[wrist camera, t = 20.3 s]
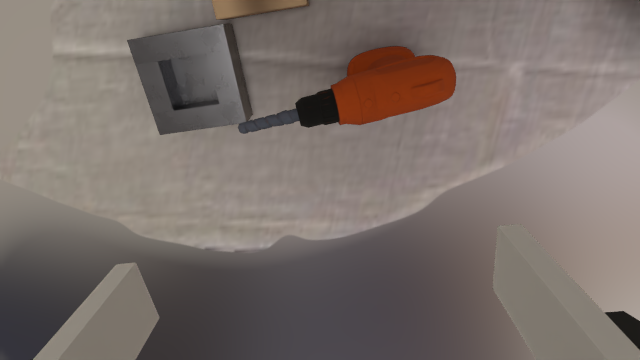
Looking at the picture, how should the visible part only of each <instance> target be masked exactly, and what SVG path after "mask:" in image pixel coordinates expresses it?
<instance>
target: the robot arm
mask: <svg viewBox="0 0 640 360" xmlns="http://www.w3.org/2000/svg"><path fill="white" fill-rule="evenodd" d="M496 242H497V243H496V254H495V266H494V279H493V290H494V291H495V293H496V295H497V296H498V298H499V300H500V301H501V303H502V305H503V306H504V308H505V309H506V311H507V313H508V314H509V316H510V318H511V319H512V321H513V323H514V324H515V326H516V328H517V329H518V331H519V333H520V334H521V336H522V338H523V339H524V341H525V342H526V344H527V346H528V347H529V349H530V351H531V352H532V354H533V355H534V357H535V359H536V360H640V321H639V320H637V319H635V318H634V317H632V316H631V315H629V314H627V313H625V312H624V311H619V312H606V313H604V312H603V311H602V310H601V309H600V308H599V306H598V305H597V304H596V303H595V302H594V301H593V300H592V299H591V298H590V297H589V296H588V295H587V294H586V293H585V292H584V291H583V290H582V288H581V287H580V286H579V285H578V284H577V283H576V282H575V281H574V280H573V279H572V278H571V277H570V276H569V275H568V274H567V273H566V271H565V270H564V269H563V268H562V267H561V266H560V265H559V264H558V263H557V262H556V261H555V260H554V259H553V258H552V257H551V256H550V255H549V253H548V252H547V251H546V250H545V249H544V248H543V247H542V246H541V245H540V244H539V243H538V242H537V241H536V240H535V238H534V237H533V236H532V235H531V234H530V233H529V232H528V231H527V230H526V229H525V228H524V227H523V226H522V225H521V224H515V225H505V226H498V229H497V241H496ZM158 319H159V316H158V313H157V311H156V309H155V306H154V304H153V302H152V299H151V297H150V295H149V293H148V290H147V288H146V286H145V283H144V281H143V279H142V276H141V274H140V271H139V269H138V267H137V265H136V263H127V264H117V265H115V267H114V268H113V269H112V270H111V271H110V272H109V273H108V275H107V276H106V277H105V278H104V279H103V280H102V281H101V283H100V284H99V285H98V286H97V287H96V288H95V289H94V291H93V292H92V293H91V294H90V295H89V296H88V298H87V299H86V300H85V301H84V302H83V303H82V304H81V306H80V307H79V308H78V309H77V310H76V311H75V312H74V313H73V315H72V316H71V317H70V318H69V319H68V320H67V322H66V323H65V324H64V325H63V326H62V327H61V329H59V331H58V332H57V333H56V334H55V335H54V337H52V339H51V340H50V341H49V342H48V343H47V344H46V345H45V347H44V348H43V349H42V350H41V351H40V352H39V353H38V355H37V356H36V357H35V358H34V359H32V360H135V359H136V358H137V356H138V354H139V352H140V351H141V349H142V347H143V345H144V344H145V342H146V340H147V338H148V337H149V335H150V333H151V331H152V330H153V328H154V326H155V324H156V323H157V321H158Z"/></svg>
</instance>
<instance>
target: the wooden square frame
mask: <svg viewBox="0 0 640 360" xmlns="http://www.w3.org/2000/svg"><path fill="white" fill-rule="evenodd" d="M212 3H213V7H214V11H215V16H216V19H219V20H226V19H232V18H238V17H244V16H250V15H256V14H262V13H268V12H274V11H280V10H286V9H292V8H297V7H303V6H309V2H308V0H212Z"/></svg>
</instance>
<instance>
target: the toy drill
mask: <svg viewBox="0 0 640 360" xmlns="http://www.w3.org/2000/svg"><path fill="white" fill-rule="evenodd" d="M455 86H456V73H455V70H454V67H453V65H452V63H451V62H450V61H449V60H448V59H445V58H443V57H439V56H434V55H425V56H417V57H415V55H414V54H413V52H412V51H411V50H409V49H407V48H405V47H400V46H393V47H385V48H379V49H374V50H370V51H367V52H364V53H361V54H359V55H357V56H355V57H354V58H353V59H352V60H351V61H350V63H349V65H348V70H347V77H346V78H344V79H343V80H341V81H339V82H338V83H337V84H333V85H331V89H328V90H324V91H320V92H317V94H315V95H311V96H307V97H303V98H301V99H300V100H298V101H297V102H296V103H295V104H296V108H297V109H293V110H289V111H286V110H285V111H282V112H280V113H278V114H277V115H275V114H274V115H269V116H266V117H265V118H264V117H262V118H258V119H254V121H252V120H250V121H247V122H242V123H240V124H239V126H238V129H239V131H240V132H241V133H243V134H246V133H248V132H254V131H258V130H261V129H266V128H270V127H272V126H281V125H284V124H292V123H294V122H296V121H300V124H301V126H304V127H308V128H309V127H313V126H317V125H321V124H324V125H328V124H332V123H336V122H339V124H340V125H342V124H355V125H361V124H366V123H370V122H374V121H379V120H382V119H385V118H388V117H391V116H395V115H399V114H404V113H408V112H412V111H416V110H419V109H423V108H426V107H429V106H432V105H435V104H438V103H440V102H442V101H444V100H447V99H449V98H450V97H451V96H452V95H453V93H454V91H455Z"/></svg>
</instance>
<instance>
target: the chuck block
mask: <svg viewBox="0 0 640 360" xmlns="http://www.w3.org/2000/svg"><path fill="white" fill-rule="evenodd" d="M127 42H128V44H129V47H130V50H131V53H132V56H133V59H134V62H135V65H136V67H137V70H138V73H139V76H140V79H141V82H142V85H143V88H144V90H145V93H146V96H147V99H148V102H149V105H150V108H151V111H152V113H153V116H154V119H155V122H156V125H157V128H158V131H159V134H160V135H163V134H170V133H177V132H184V131H191V130H198V129H205V128H212V127H219V126H226V125H233V124H240V123H242V122H247V121H248V120H249V119H250V118H251V116H252V115H253V114H252V109H251V105H250V101H249V96H248V92H247V88H246V83H245V79H244V75H243V70H242V66H241V62H240V57H239V53H238V49H237V44H236V40H235V36H234V31H233V27H232V24H221V25H215V26H209V27H203V28H197V29H191V30H185V31H179V32H173V33H167V34H161V35H155V36H149V37H143V38H137V39H131V40H127Z"/></svg>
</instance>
